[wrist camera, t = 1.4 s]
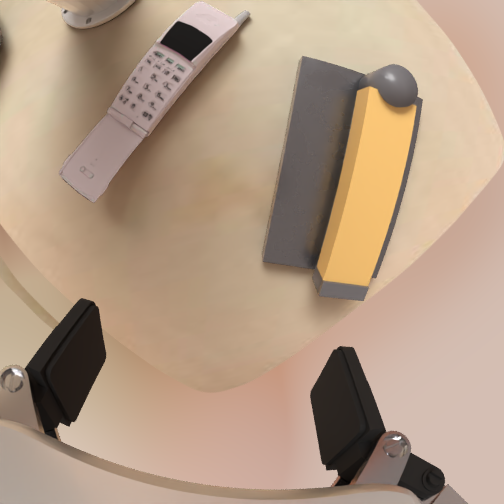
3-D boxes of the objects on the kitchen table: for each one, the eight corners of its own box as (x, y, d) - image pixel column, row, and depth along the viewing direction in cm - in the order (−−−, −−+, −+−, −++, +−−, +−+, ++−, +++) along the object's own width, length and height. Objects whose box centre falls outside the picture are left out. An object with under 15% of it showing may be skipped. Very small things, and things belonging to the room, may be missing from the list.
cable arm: (356, 66, 21) (377, 55, 17) (398, 83, 21) (424, 77, 17) (310, 273, 30) (320, 298, 26) (350, 279, 31) (364, 303, 26)
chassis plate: (299, 60, 23) (303, 55, 21) (413, 100, 24) (424, 99, 22) (261, 253, 32) (262, 262, 30) (370, 270, 33) (376, 279, 31)
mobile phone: (55, 175, 22) (205, -29, 14) (84, 166, 27) (212, -5, 19) (94, 207, 24) (257, -3, 16) (118, 193, 29) (255, 20, 21)
